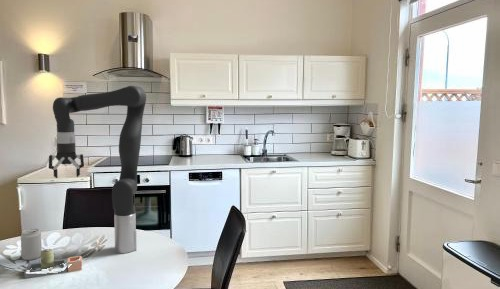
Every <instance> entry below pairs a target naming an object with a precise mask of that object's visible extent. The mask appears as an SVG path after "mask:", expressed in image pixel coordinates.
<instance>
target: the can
mask: <svg viewBox="0 0 500 289" xmlns="http://www.w3.org/2000/svg"><path fill="white" fill-rule="evenodd" d="M20 246H21V247H20V249H21V252H20V253H21V258H22V260H24V261H34V260H37V259H39V258H41V254H40V252H41V251H42V250H43V248H42V232H41V231H40V229H39V228H28V229H25V230H22V232H21V235H20Z"/></svg>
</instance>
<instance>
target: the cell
mask: <svg viewBox="0 0 500 289" xmlns="http://www.w3.org/2000/svg"><path fill="white" fill-rule="evenodd" d="M40 254H41V256H40V262H41V268H40V270H41V269H47V268H50V267H54V268H55V266H54V260H55V258H54V256H55V255H54V249H53V248H46V249H42V251H41V252H40Z"/></svg>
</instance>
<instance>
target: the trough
mask: <svg viewBox="0 0 500 289" xmlns="http://www.w3.org/2000/svg"><path fill="white" fill-rule="evenodd" d="M67 262H68V258H63V259H54V267H57V266H56V265H59V266H61V265H60V264H62V263H64V264H65V263H67ZM31 268H32V269H31ZM26 269H27V270H30V269H31V270H38V269H41V261H40V262H32V263H27V266H26ZM26 269H25V270H26ZM67 272H68V268H67V269H65V270H64V271H61V272H58V273H47V274H26V273H25V272H24V279H29V278H36V277H42V276H50V275H56V274H65V273H67Z"/></svg>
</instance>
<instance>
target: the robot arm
mask: <svg viewBox="0 0 500 289" xmlns="http://www.w3.org/2000/svg"><path fill="white" fill-rule="evenodd" d="M146 102H147V94H146V92H145V90H144V89H143V88H142V87H140V86H137V85H136V86H135V85H127V86H125V87H122V88H119V89H115V90H111V91H105V92H99V93H98V92H97V93H89V94H82V95H78V96H73V97H63V96H62V97H61V96H60V97H56V98H55V99H54V101H53V103H52V111H53V115H54V119H55V121H56V154H55V155H54V154H50V155H49V156H48V169H51V170H53V177H54V178H55V179H57V178H59V176H58V168H59V166H60V165H61V164H62V165H71V164H72V165H73V166H74V167H75V168H76V170H75V171H76V178H79V177H80V175H81V168H84V167H85V161H84V154H83V153H80V154H77V153H76V134H75V120H73V119H72V118H71V116H70V114H72V113H73V114H74V113H78V112H87V111H93V110H100V109H103V108H108V107H114V106H115V107H116V106H117V107H118V106H125V107H126V109H127V110H126V116H125V119H124V122H123V126H122V128H121V131H120V134H119V141H118V155H119V161H120V174H119V180H118V181H116V182H115V183H114V184H113V186H112V189H111V190H112V191H111V200H112V202H111V203H112V209H113V211H114V213H113V214H114V218H113V220H114V221H113V222H114V252H116V253H119V254H127V253H132V252H133V251H137V246H138V245H137V228H136V227H137V226H136V225H137V223H136V220H137V218H136V217H137V215H136V214H137V213H136V206H135V204H134V195H135V194H136V192H137V190H138V165H139V158H140V150H141V142H142V130H143V118H144V112H145V106H146ZM55 159H56V160H58V161H57V162H56V164H55V165H53V161H54V160H55ZM76 159H78V160H80V164H78V162H77V161H76Z"/></svg>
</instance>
